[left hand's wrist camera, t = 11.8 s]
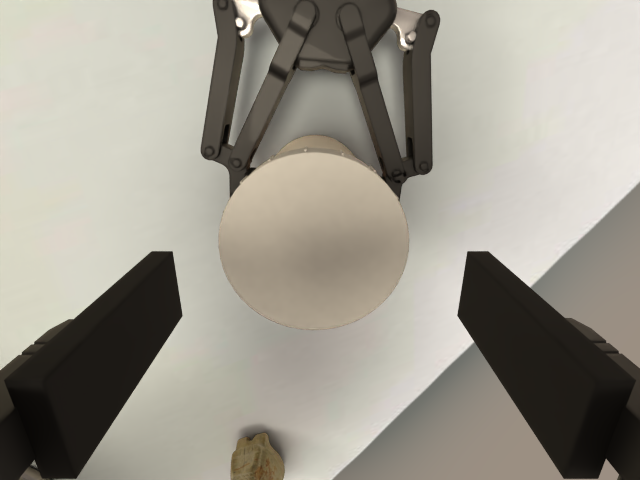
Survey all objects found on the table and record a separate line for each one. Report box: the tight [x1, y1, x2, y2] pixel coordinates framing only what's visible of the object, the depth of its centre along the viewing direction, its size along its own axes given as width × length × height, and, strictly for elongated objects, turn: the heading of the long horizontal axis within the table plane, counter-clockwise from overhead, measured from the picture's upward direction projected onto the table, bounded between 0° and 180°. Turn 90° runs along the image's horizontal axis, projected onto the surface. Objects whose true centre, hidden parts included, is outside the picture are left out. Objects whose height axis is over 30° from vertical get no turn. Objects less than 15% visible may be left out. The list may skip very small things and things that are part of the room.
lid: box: [219, 146, 409, 330], centre depth 18 cm, size 9×9×2 cm
